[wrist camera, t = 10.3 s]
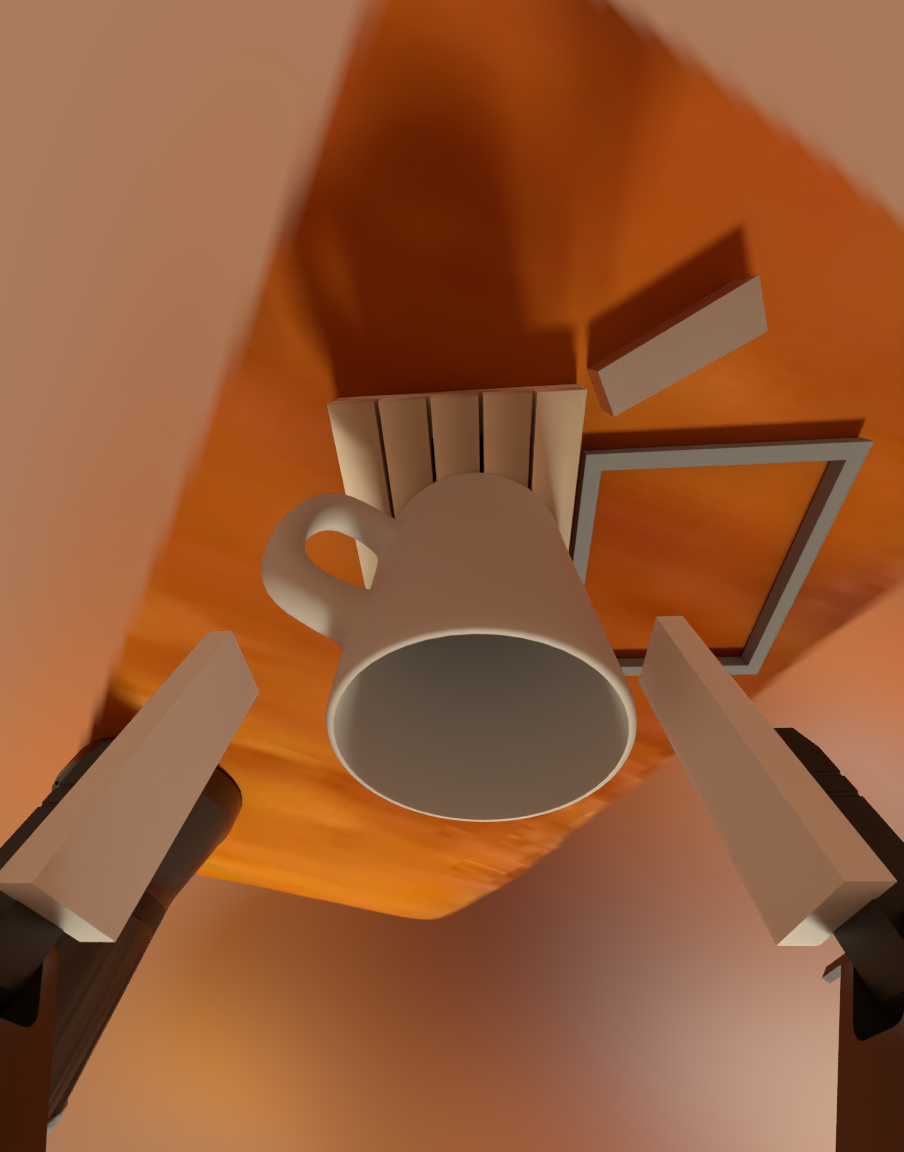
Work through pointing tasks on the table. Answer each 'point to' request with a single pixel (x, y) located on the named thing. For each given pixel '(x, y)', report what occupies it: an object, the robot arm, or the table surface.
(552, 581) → the mug
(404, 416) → the rack
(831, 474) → the socket frame
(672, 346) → the grey rectangular bar
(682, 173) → the table surface
